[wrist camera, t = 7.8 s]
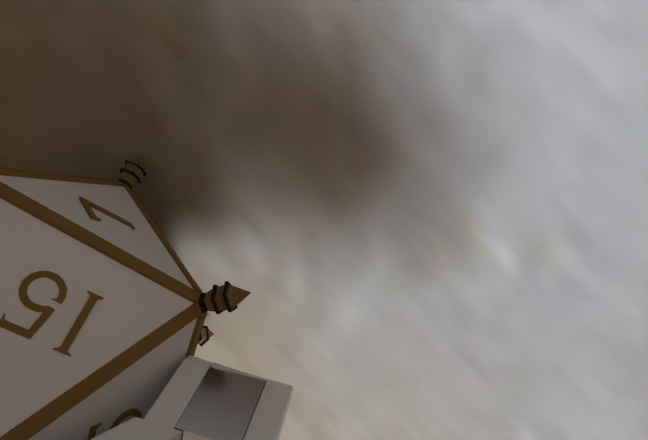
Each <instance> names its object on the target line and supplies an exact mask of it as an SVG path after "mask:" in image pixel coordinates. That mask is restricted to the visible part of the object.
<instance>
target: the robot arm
mask: <svg viewBox="0 0 648 440" xmlns="http://www.w3.org/2000/svg"><path fill="white" fill-rule="evenodd" d="M292 391H293V387H292V386H290V385H287V384H283V383H280V382H276V381H273V380H269V379H265V378H262V377H259V376H255V375H252V374H248V373H245V372H241V371H238V370H235V369H232V368H229V367H226V366H223V365H220V364H217V363H212V362H209V361H206V360H203V359H200V358H197V357H194V356H191V355H189V356H188V357H186V358H185V359H184V360H183V361H182V363H181V364H180V366H179V367H178V369H177V370H176V372H175V373H174V374H173V376H172V377H171V379H170V380H169V382H168V383H167V385H166V386H165V388H164V389H163V391H162V392H161V394H160V395H159V397H158V398H157V400H156V401H155V403H154V404H153V405H152V407H151V408H150V410H149V411H148V413H147V414H146V416H145V417H144V419H141V418H138V417H134V418H132V419H130V420H128V421H126V422H124V423H122V424H120V425H118V426H116V427H114V428H112V429H110V430H108V431H106V432H104V433H102V434H100V435H98V436H96V437H94V438H92V439H90V440H280V437H281V433H282V429H283V425H284V422H285V418H286V414H287V410H288V406H289V403H290V399H291V395H292Z"/></svg>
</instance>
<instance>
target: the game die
mask: <svg viewBox="0 0 648 440" xmlns="http://www.w3.org/2000/svg"><path fill="white" fill-rule="evenodd" d="M120 173H121V176H120V179H119V180H118V181H115V180H106V179H97V178H87V177H78V176H69V175H60V174H50V173H41V172H32V171H23V170H14V169H4V168H0V440H90V439H92V438H94V437H96V436H98V435H100V434H102V433H104V432H106V431H108V430H110V429H112V428H114V427H116V426H118V425H120V424H122V423H124V422H126V421H128V420H130V419H132V418H134V417H138V418H141V419H144V417H145V416H146V414H147V413H148V411H149V410H150V408H151V407H152V405H153V404H154V403H155V401H156V400H157V398H158V397H159V395H160V394H161V392H162V391H163V389H164V388H165V386H166V385H167V383H168V382H169V380H170V379H171V377H172V376H173V374H174V373H175V372H176V370H177V369H178V367H179V366H180V364H181V363H182V361H183V360H184V359H185V358H186V357H188V356H189V355H191V356H194V353H195V350H196V346H197V344H200V346H202V345H203V344H205V343H206V342H207V341H208V340H209V338H210V337H211V336H212V335H213V333H212V332H211V331H210V330H209V329H208V326H203V324H204V321H205V317H206V314H207V311H215V312H216V314H220V313H221V312H223V311H225V310H228V312H232V311H233V310H235V309H236V308H237V305H238V304H239V303H240V302H241V301H242V300H243V299H244V298H245V297H247V296H248V295H249V294H250V292H248V291H245V290H243V289H240V288H237V287H235V286H232V285H231V284H230V283H229V282H228V281H226V282H225V285H223V286H219V287H218V286H217V285H213V289H212V290H210V291H208V292H207V293H203V292H202V291H201V289H200V288H199V286H198V285H197V283H196V282H195V281H194V279H193V278H192V276H191V275H190V273H189V272H188V271H187V269H186V268H185V266H184V265H183V263H182V262H181V261H180V259H179V258H178V256H177V255H176V253H175V252H174V250H173V249H172V248H171V246H170V245H169V243H168V242H167V240H166V239H165V238H164V236H163V235H162V233H161V232H160V230H159V229H158V228H157V226H156V225H155V223H154V222H153V220H152V219H151V218H150V216H149V215H148V213H147V212H146V210H145V209H144V207H143V206H142V205H141V203H140V202H139V200H138V199H137V197H136V196H135V195H134V193H133V192H132V190H131V189H132V186H133V185H135V184H136V183H140V182H141V178H142V176H145V175H147V173H146V172H145V166H144V157H140V158H137V159H134V160H131V161H127V160H126V161H125V167H124V168H121V169H120Z"/></svg>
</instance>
